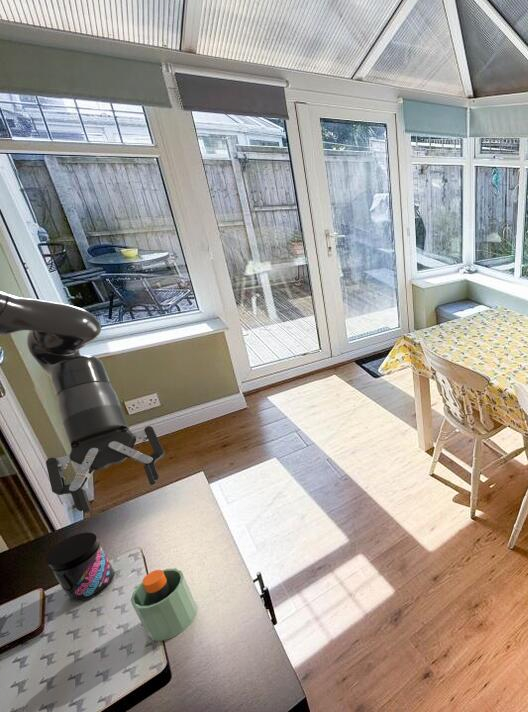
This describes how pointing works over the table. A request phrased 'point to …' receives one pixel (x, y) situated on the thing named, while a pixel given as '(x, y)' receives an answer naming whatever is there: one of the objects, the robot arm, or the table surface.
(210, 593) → the table surface
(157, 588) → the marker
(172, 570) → the tumbler
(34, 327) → the robot arm
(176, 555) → the table surface
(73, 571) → the supplement container
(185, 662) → the table surface
